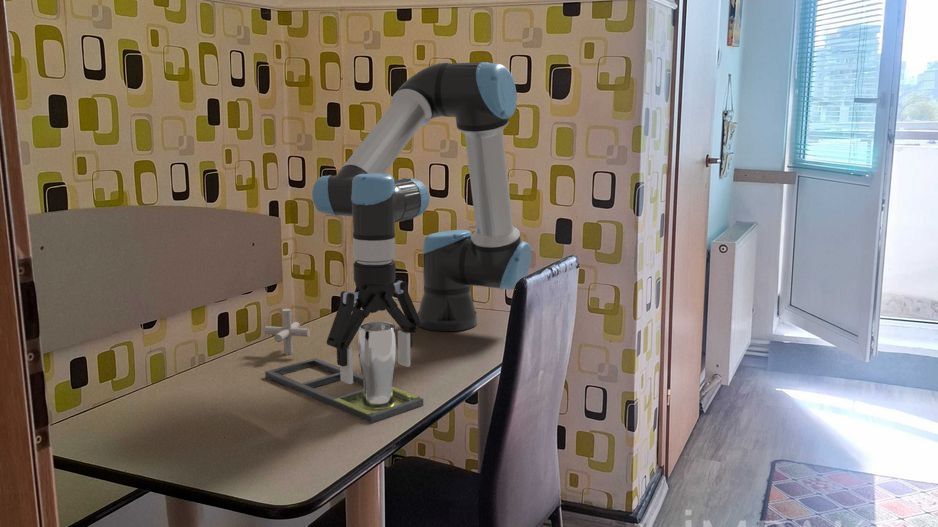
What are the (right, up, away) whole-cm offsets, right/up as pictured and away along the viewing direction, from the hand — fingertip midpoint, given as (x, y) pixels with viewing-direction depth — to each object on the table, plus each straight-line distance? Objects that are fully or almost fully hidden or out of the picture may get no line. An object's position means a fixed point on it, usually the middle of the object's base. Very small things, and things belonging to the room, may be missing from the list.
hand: (376, 373), depth 159 cm
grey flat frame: (-8, -4, +9) cm, 13 cm away
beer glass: (0, -6, +2) cm, 6 cm away
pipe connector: (-23, 0, +32) cm, 39 cm away
